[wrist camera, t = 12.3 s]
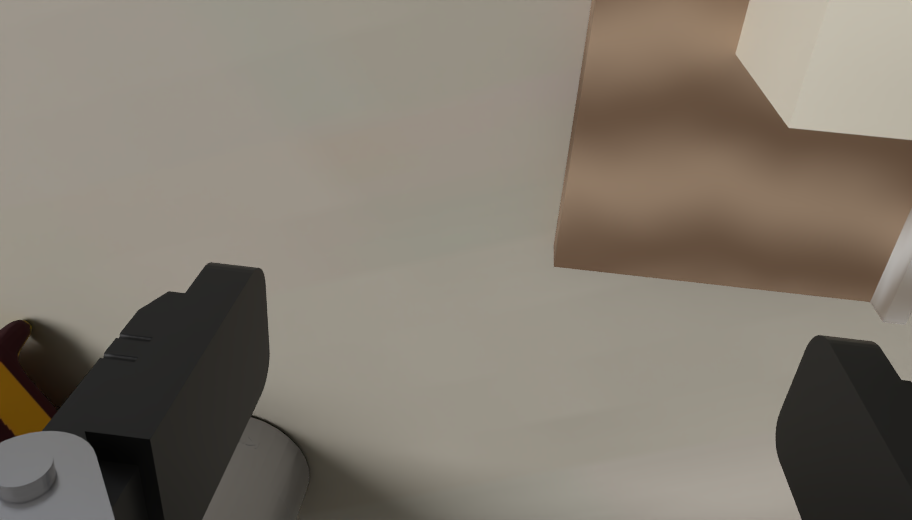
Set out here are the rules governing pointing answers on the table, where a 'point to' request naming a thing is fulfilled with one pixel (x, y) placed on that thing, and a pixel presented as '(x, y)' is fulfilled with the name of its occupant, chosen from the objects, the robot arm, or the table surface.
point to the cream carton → (833, 63)
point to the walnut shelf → (722, 170)
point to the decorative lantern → (19, 388)
